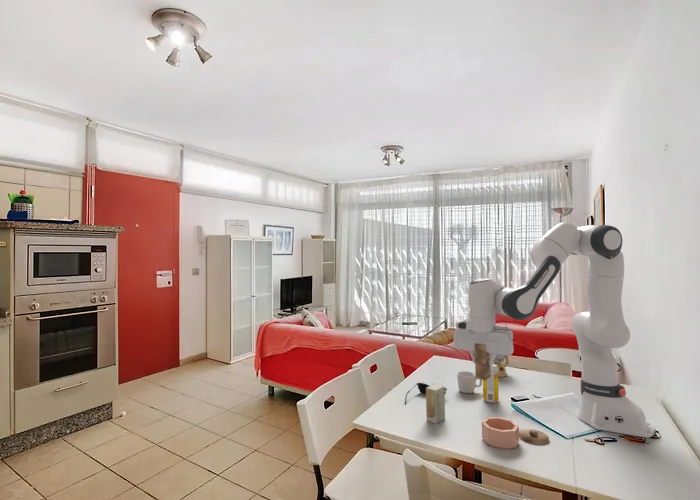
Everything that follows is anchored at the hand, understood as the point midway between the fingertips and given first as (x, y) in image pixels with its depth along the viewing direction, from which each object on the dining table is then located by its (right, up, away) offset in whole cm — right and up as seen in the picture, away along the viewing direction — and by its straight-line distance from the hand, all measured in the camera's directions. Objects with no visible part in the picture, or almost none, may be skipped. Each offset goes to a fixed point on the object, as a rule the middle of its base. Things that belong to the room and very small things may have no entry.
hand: (482, 364), depth 132 cm
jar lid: (+15, -23, -7) cm, 28 cm away
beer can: (+12, -23, +26) cm, 37 cm away
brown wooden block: (0, -5, 0) cm, 5 cm away
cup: (+7, -24, +37) cm, 44 cm away
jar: (+3, -23, -9) cm, 24 cm away
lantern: (+29, -24, +61) cm, 72 cm away
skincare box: (-15, -23, +8) cm, 29 cm away
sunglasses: (-15, -24, +26) cm, 39 cm away
